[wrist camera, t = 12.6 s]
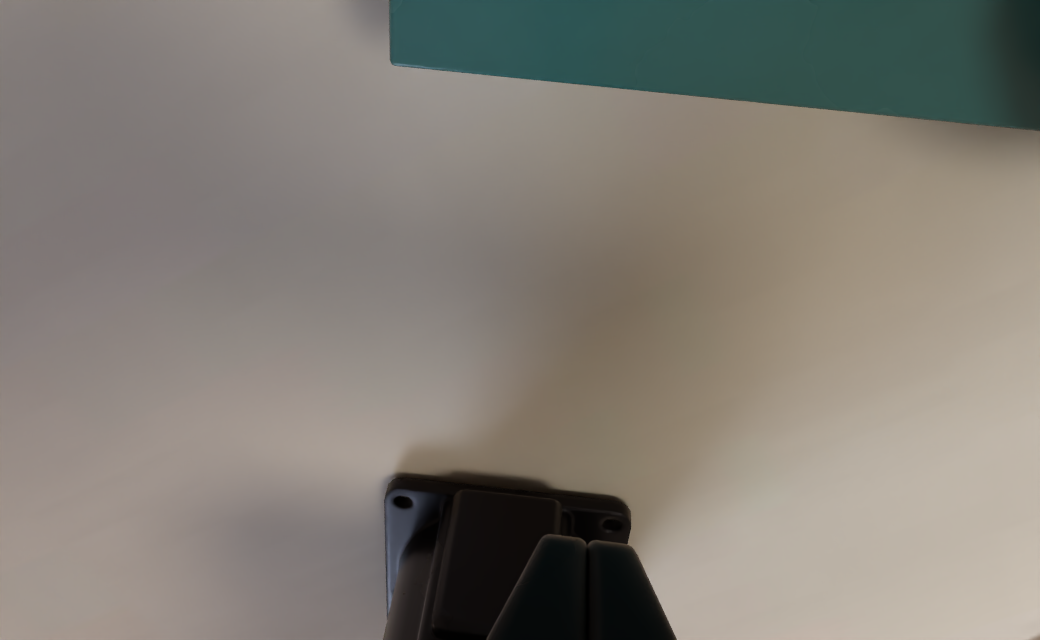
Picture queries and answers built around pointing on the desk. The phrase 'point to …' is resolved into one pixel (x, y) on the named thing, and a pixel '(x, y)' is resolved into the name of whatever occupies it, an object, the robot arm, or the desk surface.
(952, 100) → the teal button platform
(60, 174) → the desk surface
